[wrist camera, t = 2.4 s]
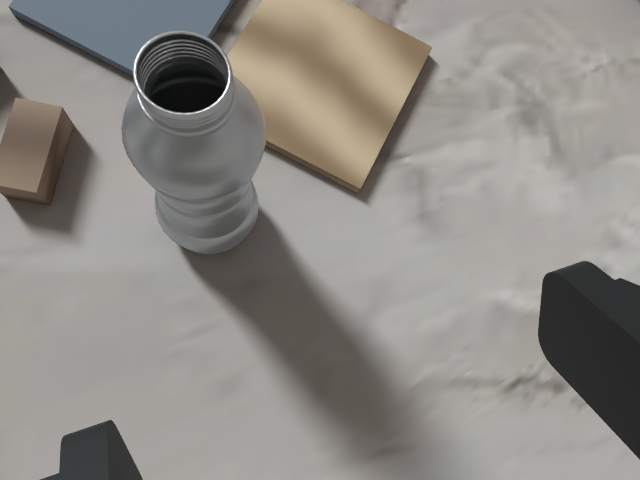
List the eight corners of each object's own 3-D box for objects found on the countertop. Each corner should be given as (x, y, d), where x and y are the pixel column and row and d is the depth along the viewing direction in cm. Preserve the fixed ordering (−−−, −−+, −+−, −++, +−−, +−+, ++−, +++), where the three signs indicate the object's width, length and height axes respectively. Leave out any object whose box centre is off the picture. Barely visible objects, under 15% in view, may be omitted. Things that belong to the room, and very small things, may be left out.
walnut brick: (51, 206, 41) (36, 192, 38) (6, 197, 40) (-13, 183, 37) (74, 126, 42) (62, 107, 39) (31, 117, 42) (15, 97, 39)
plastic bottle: (182, 157, 42) (132, -31, 23) (271, 191, 43) (296, 34, 23) (144, 240, 41) (57, 112, 21) (238, 275, 41) (235, 180, 22)
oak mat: (357, 193, 43) (360, 188, 42) (198, 110, 43) (197, 104, 42) (428, 54, 47) (432, 47, 46) (280, -23, 47) (281, -32, 46)
